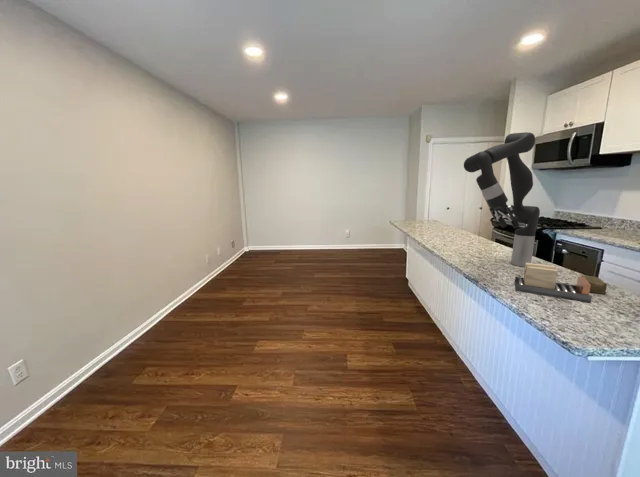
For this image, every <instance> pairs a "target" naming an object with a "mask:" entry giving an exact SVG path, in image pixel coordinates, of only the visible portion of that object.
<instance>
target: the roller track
mask: <svg viewBox="0 0 640 477" xmlns="http://www.w3.org/2000/svg"><path fill="white" fill-rule="evenodd" d="M523 279H524V277H520V276H515V277H514V288H515V291H517V292H523V293H529V294H534V295H539V296H541V295H542V296H548V297H551V298H552V297H553V298H557V299H564V300H571V301H575V302H582V303H588V304H589V303H590V304H591V303H592V298H593V296H592V295H591V294H590V293H591V292H590V287H591V284H590V283H589V282H588V281H587V280H586V279H585V278H584V277H582V276H577V281H576V284H570V283H563V282H557V281H556V283H555V289H548V288H542V287H536V286H529V285H525V284H524V280H523Z"/></svg>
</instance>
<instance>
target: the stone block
mask: <svg viewBox="0 0 640 477" xmlns="http://www.w3.org/2000/svg"><path fill="white" fill-rule="evenodd" d="M581 277H584V278H585V279H586V280H587V281H588V282H589V283H590V284H591V287H590V292H589V293H593V294H599V295H606V292H607V287H608V286H607V283H606V282H604V281H603V280H602V279H601V278H599V277H598V276H592V275H584V274H582V275H581Z"/></svg>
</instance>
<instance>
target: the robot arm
mask: <svg viewBox="0 0 640 477" xmlns="http://www.w3.org/2000/svg"><path fill="white" fill-rule="evenodd" d="M535 143H536V137H535V134H534V133H532V132H527V131H526V132H513V133H509V134H507V135H506V137H505V139H504V142H503V143H501V144H498V145H497V144H496V145H494V146H491V147H489V148H486V149H484V150H483V151H479V152H478V153H475V154H473V155H471V156H469V157H467V158H466V159H465V160H464V162H463V169H464V170H465V171H466V172H468V173H475V172H478V171H480V170H481V172H480V173H481V174H480V175H479V176H477V177H476V179H475V180H476V183H477V185H478V187H479V189H480V191H481V193H482V196H483V198H484V200H485V201H486V204H487V206H488V209H489V211H490V214H491V216H492V218H493V219H494V220H496V221H497V222H499V225H500V226H501V228H506V227H507V226H508V223H507V222H506V220H505V219H507V220H509V221H510V223H511V225H512V227H513V229H515V230H514V237H513V243H512V244H513V245H512V250H511V251H512V252H511V257H510V258H511V260H510V264H511V265H513V266H516V267H522V268H525V265H526V263H532V259H533V251H534V246H535V238H536V232H537V229H538V224H539V219H540V212H541V210H540V208H539V207H538V206H534V205H524V203H523V201H524V199H525V198H526V197H527V195H528V194H529V193H530V191H531V190H532V189H533V187H534V179H533V177H534V176H533V172H532V171H531V170H530V168H529V167H528V166H527V165H526V163H524V161H523V160H522V159H521V156H520V154H524V153H528V152H530V151H531V150H532V149H533V148H534V146H535V145H536V144H535ZM504 159H506V161H507V163H508V170H509V177H510V187H511V192H512V193H511V194H512V203H513V204H510V205H508V204H507V202H508V201H509V199H508V196H506V194H505V191H504V190H503V187H502V186H501V184H500V183H499V181H498V179H497V178H496V176H495V174H494V168H493V164H495V163H498V162H499V161H501V160H504ZM504 218H505V219H504ZM520 223H522V224H523V223H525V224H527V226H525V227H521V228H519V227H520V226H521V225H520Z"/></svg>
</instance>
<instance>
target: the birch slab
mask: <svg viewBox="0 0 640 477" xmlns="http://www.w3.org/2000/svg"><path fill="white" fill-rule="evenodd" d="M557 277H558V269H557V268H556V266H555V265H548V264H541V263H532V262H531V263H526V265H525V267H524V273H523V278H524V279H523V280H524V284H525V285H529V286H536V287H542V288H548V289H555V283H556V282H557Z"/></svg>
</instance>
